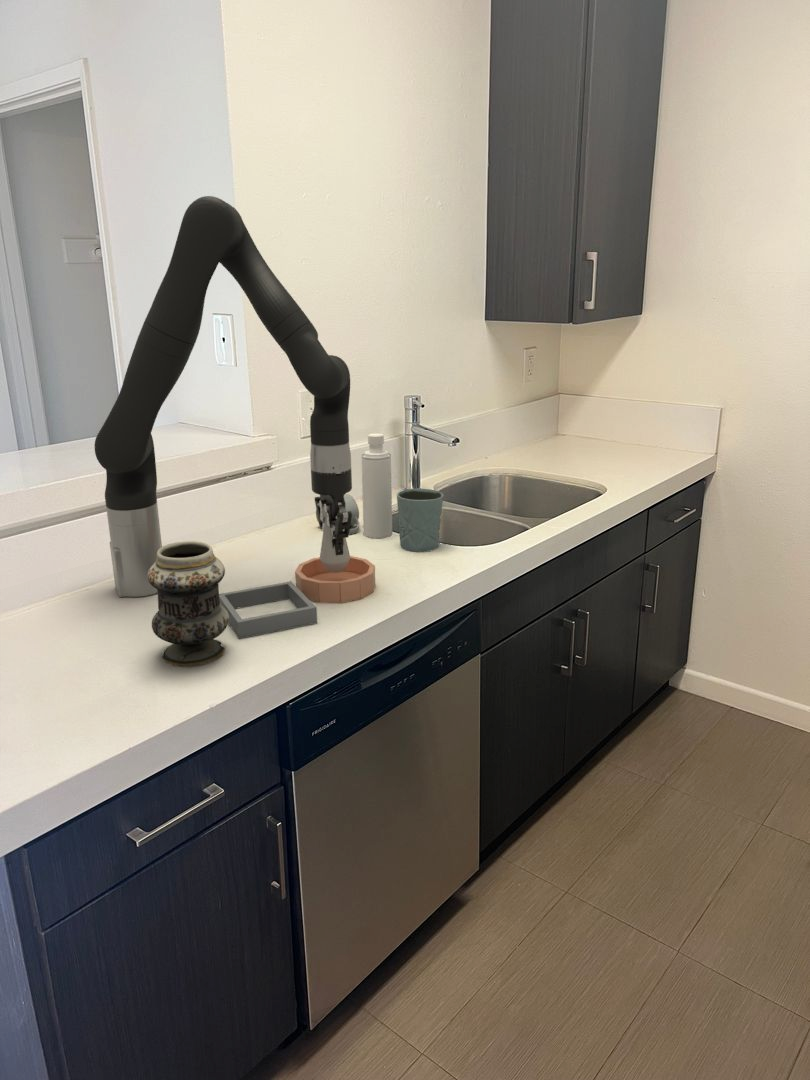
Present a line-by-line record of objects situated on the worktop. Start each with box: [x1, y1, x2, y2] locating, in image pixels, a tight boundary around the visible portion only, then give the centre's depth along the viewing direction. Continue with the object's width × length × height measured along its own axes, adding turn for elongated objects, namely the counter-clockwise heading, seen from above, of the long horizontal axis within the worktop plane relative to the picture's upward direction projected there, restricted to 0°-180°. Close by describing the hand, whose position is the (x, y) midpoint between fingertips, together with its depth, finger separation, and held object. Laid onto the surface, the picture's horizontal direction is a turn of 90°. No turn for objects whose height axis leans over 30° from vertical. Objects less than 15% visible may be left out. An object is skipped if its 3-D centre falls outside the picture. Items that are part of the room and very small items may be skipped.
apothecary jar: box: [148, 540, 229, 668], centre depth 131 cm, size 12×12×18 cm
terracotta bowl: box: [294, 555, 376, 604], centre depth 160 cm, size 15×15×4 cm
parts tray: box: [219, 580, 318, 639], centre depth 148 cm, size 14×14×3 cm
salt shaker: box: [319, 506, 351, 573], centre depth 158 cm, size 6×6×13 cm
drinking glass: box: [396, 488, 444, 553], centre depth 182 cm, size 10×10×12 cm
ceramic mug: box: [315, 493, 360, 535], centre depth 195 cm, size 11×8×8 cm
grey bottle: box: [361, 432, 393, 539], centre depth 188 cm, size 7×7×25 cm
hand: (334, 553), depth 159 cm, fingers closed on salt shaker, 3 cm apart
